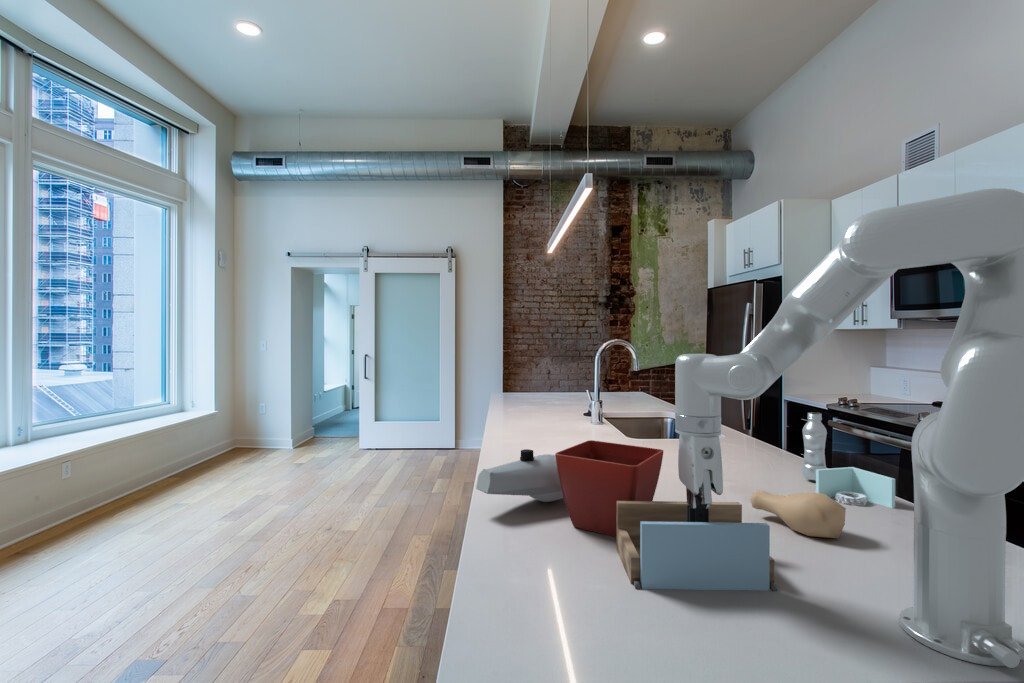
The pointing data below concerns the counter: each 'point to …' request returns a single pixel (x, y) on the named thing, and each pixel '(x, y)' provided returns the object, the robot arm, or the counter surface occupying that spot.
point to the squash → (804, 512)
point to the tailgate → (704, 555)
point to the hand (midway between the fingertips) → (697, 529)
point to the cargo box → (663, 512)
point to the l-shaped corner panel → (856, 486)
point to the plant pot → (605, 481)
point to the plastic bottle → (814, 446)
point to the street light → (524, 478)
